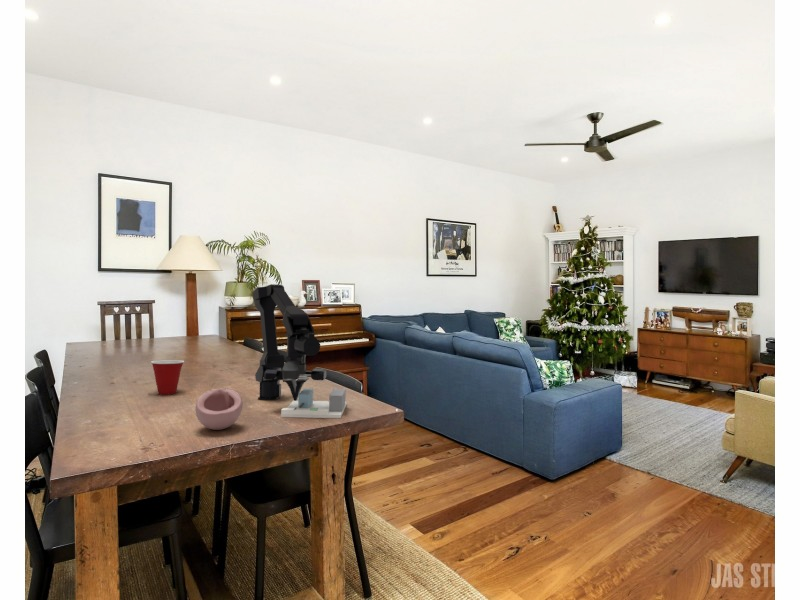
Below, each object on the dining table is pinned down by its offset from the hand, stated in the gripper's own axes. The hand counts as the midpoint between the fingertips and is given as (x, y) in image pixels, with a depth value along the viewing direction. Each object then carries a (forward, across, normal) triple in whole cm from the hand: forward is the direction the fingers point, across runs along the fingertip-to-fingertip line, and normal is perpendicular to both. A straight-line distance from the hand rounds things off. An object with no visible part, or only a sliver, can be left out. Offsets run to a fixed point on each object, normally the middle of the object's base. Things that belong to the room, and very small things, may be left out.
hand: (295, 400), depth 145 cm
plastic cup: (+3, -51, +19) cm, 54 cm away
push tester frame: (+3, +6, 0) cm, 7 cm away
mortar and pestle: (+3, -16, -20) cm, 26 cm away
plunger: (+2, +3, -2) cm, 4 cm away
